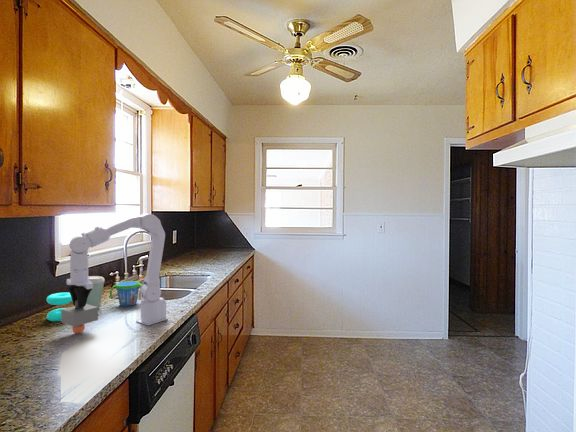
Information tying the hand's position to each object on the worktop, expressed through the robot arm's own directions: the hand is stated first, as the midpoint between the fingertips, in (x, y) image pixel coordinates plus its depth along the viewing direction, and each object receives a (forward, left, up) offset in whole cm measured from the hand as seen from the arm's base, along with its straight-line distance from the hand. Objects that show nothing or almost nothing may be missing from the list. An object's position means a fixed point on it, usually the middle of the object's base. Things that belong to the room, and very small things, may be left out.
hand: (79, 305), depth 131 cm
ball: (0, 0, -8) cm, 8 cm away
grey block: (0, 0, -6) cm, 6 cm away
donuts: (-5, -24, -10) cm, 27 cm away
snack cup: (-33, -20, -10) cm, 40 cm away
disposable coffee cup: (-19, -26, -10) cm, 34 cm away
